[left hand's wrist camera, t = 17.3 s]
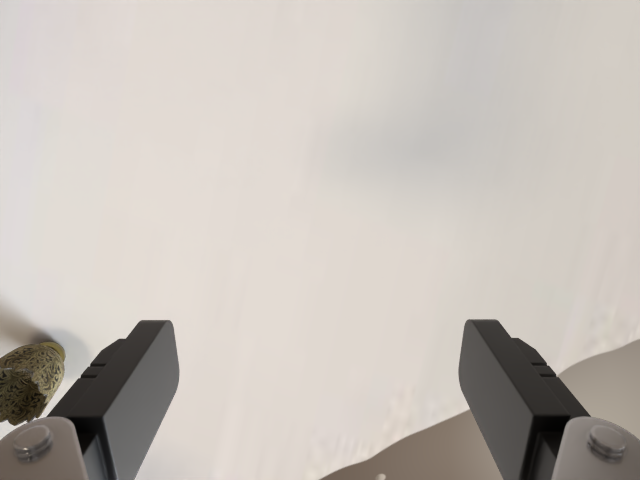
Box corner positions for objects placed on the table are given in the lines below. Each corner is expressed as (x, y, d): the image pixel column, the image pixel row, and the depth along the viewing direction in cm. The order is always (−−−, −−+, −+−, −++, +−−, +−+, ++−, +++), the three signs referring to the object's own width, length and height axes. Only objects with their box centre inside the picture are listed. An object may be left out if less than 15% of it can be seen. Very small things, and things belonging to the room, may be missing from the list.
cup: (96, 351, 50) (57, 398, 43) (62, 386, 52) (19, 437, 45) (42, 313, 48) (-8, 356, 41) (9, 351, 50) (-45, 398, 43)
